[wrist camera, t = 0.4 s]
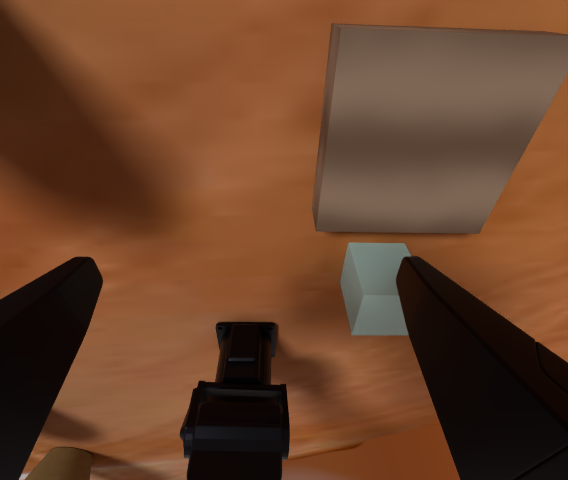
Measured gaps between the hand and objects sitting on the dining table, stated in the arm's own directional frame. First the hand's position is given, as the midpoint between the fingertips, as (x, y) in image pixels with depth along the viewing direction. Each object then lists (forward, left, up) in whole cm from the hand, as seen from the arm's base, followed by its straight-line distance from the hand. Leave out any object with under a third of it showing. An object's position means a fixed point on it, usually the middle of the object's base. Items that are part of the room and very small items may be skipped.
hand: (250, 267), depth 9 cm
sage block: (-13, -10, -14) cm, 21 cm away
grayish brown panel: (-1, -10, -14) cm, 17 cm away
